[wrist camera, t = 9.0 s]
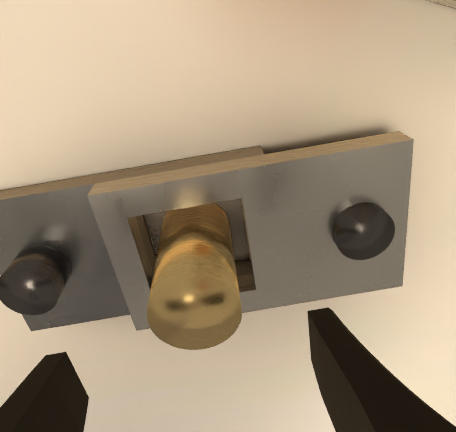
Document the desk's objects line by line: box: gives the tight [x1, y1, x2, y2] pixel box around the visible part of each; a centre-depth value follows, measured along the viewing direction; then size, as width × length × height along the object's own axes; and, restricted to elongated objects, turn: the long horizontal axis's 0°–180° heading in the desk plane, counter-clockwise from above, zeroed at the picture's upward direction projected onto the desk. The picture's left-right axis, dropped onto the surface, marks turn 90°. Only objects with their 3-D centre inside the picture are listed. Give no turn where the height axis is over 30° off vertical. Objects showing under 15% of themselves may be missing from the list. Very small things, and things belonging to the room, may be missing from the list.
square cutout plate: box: [0, 131, 414, 331], centre depth 17 cm, size 18×7×3 cm, turn 99°
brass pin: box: [147, 203, 242, 350], centre depth 15 cm, size 3×3×6 cm
